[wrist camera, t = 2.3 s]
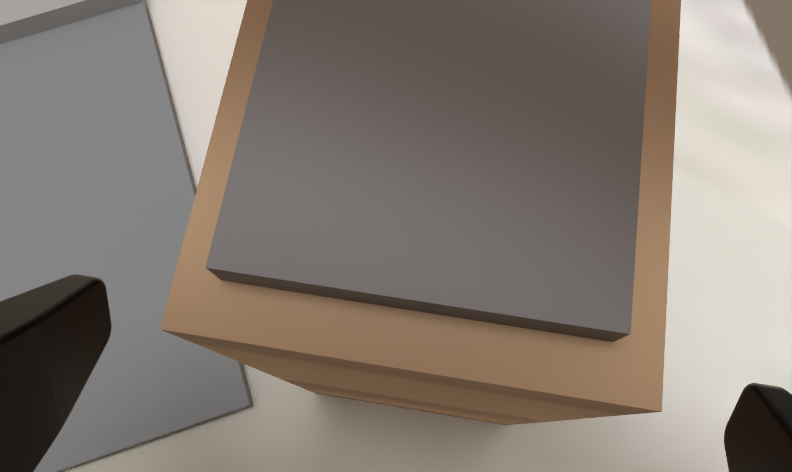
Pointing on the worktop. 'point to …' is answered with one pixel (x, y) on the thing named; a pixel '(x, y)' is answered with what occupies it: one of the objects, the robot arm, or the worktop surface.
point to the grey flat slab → (103, 213)
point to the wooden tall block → (442, 204)
